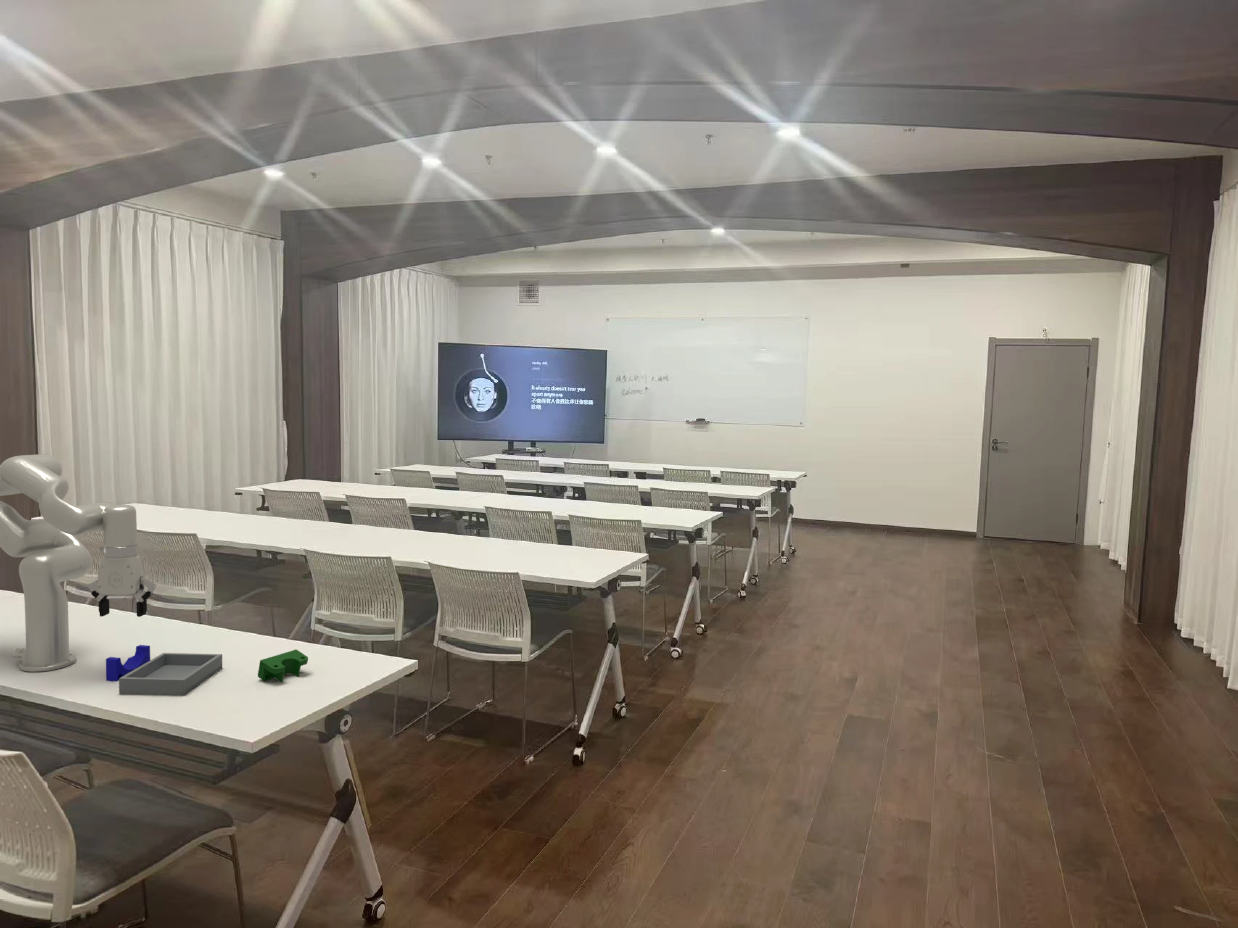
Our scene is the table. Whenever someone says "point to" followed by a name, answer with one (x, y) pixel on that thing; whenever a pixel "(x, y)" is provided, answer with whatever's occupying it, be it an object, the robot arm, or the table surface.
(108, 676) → the blue long angular piece
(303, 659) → the clamp
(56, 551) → the robot arm
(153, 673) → the gray tray
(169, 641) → the table surface
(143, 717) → the table surface
